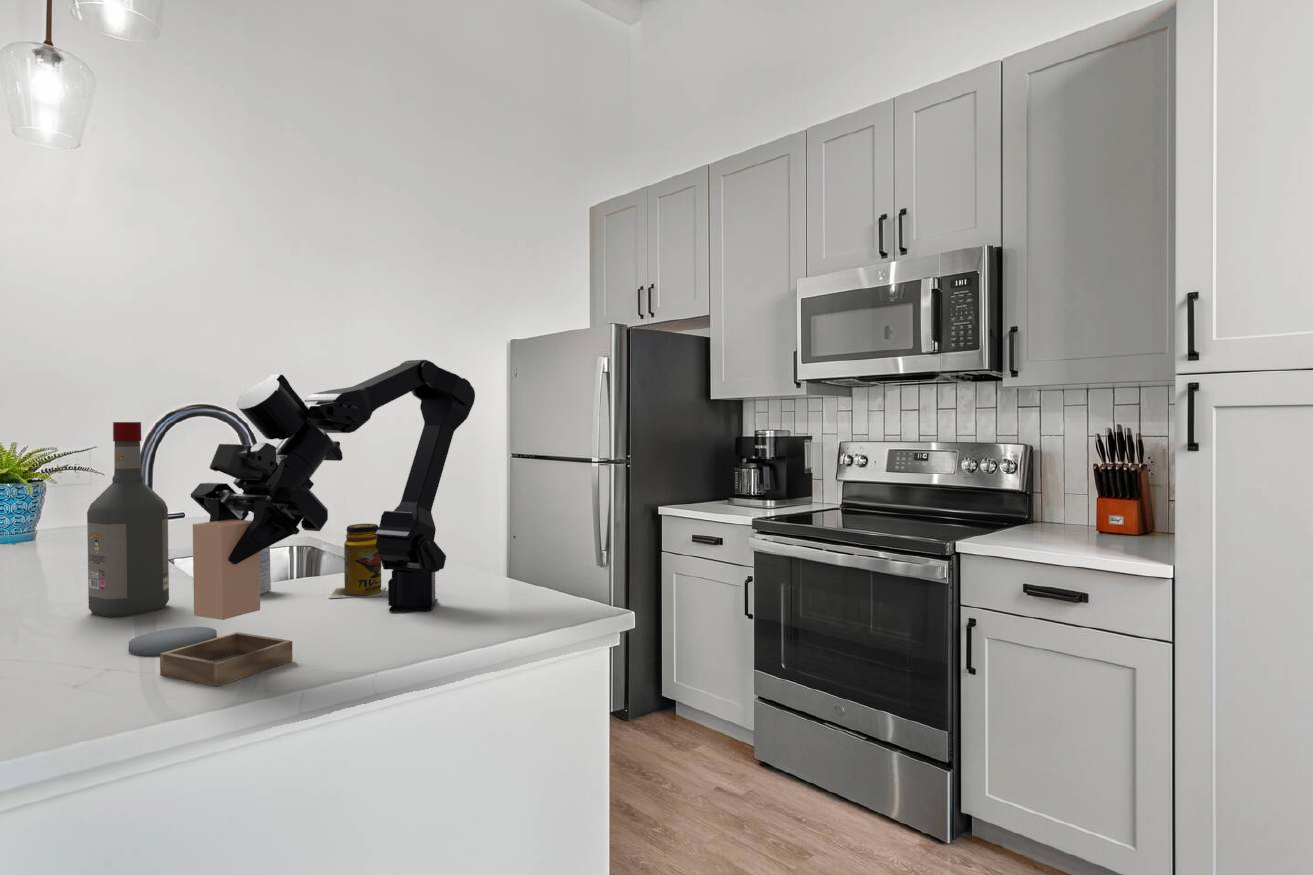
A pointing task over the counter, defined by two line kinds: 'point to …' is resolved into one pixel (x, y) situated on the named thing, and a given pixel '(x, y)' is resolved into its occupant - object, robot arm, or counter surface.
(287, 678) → the counter surface
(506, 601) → the counter surface
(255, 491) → the robot arm
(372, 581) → the condiment
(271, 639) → the wooden tray
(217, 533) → the tan rectangular block
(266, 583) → the grey rectangular block
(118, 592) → the liquor
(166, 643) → the coaster
